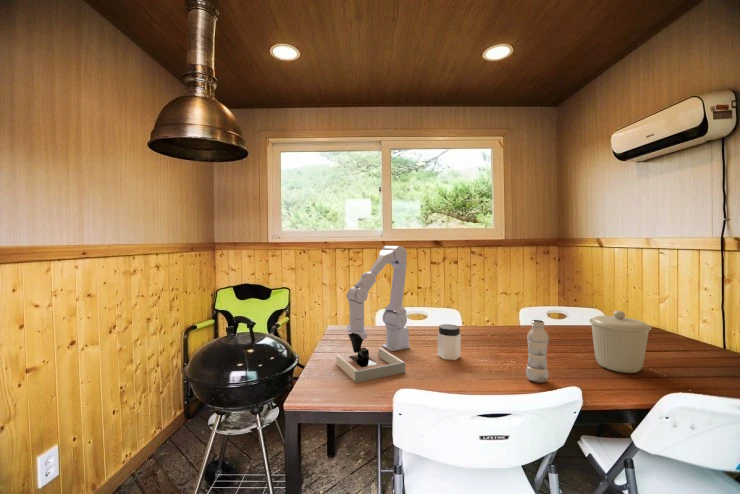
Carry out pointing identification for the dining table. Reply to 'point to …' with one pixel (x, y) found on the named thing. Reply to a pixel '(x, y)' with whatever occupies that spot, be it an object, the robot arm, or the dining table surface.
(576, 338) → the dining table surface
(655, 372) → the dining table surface
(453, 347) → the jar
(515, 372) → the dining table surface
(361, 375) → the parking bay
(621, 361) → the canister
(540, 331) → the plastic bottle
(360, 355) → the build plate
